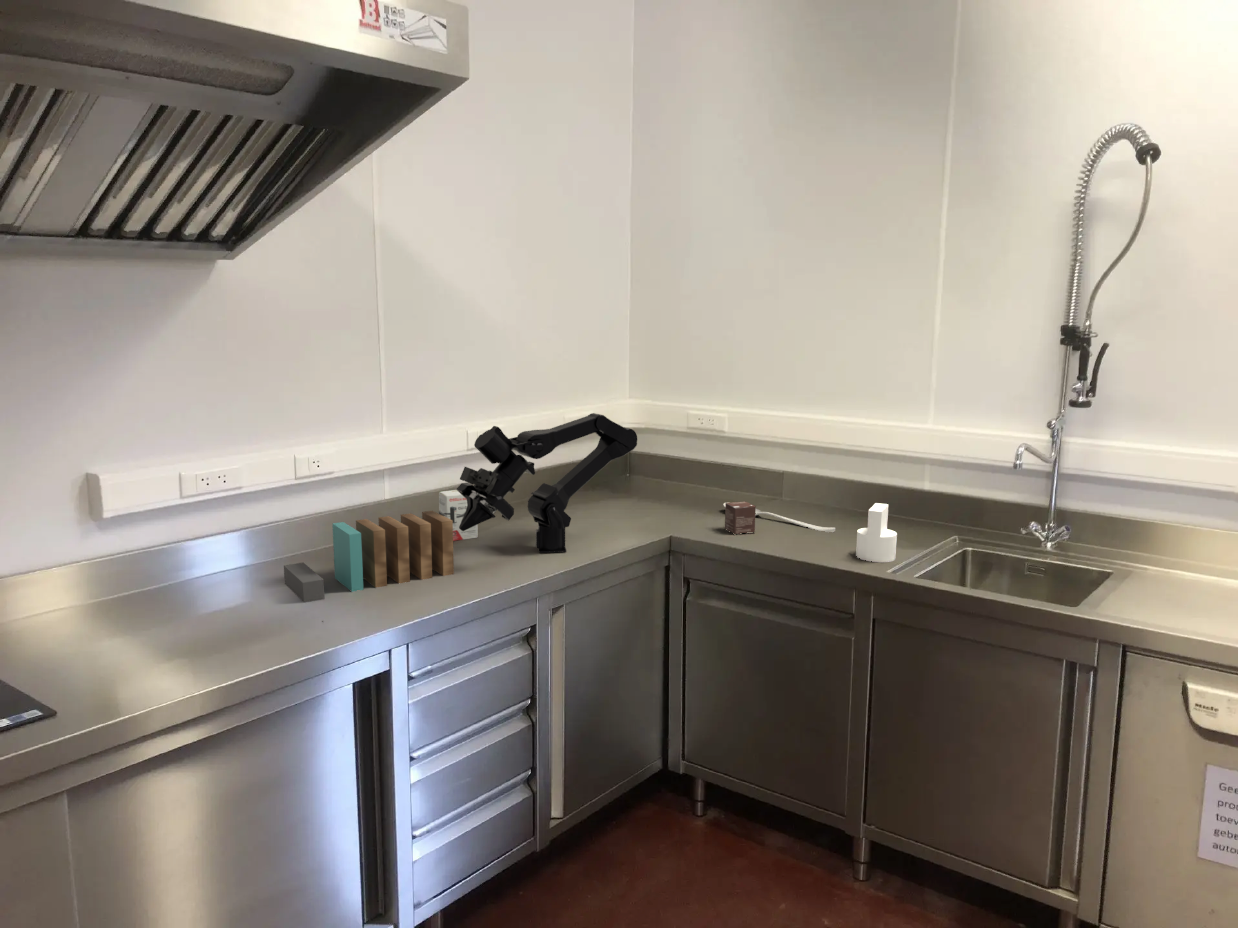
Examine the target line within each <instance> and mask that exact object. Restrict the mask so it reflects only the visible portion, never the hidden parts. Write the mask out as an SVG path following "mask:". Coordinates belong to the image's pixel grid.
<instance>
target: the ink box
mask: <svg viewBox="0 0 1238 928" xmlns="http://www.w3.org/2000/svg"><path fill="white" fill-rule="evenodd" d="M466 509H467V499H466V498H465V497H464V496H463V495H461V494H460V493H459V492H458V491H457V489H453V490H451V489H450V490H444V491H440V492H438V514H440V515H442V516H444V517H446V518H448V519H451V520H453V542H455V541H462V540H464V541H465V540H469V539H476V538H478V533H479V532H478V531H479V529H478V525H479V524H477V525H475V526H473V527H471V528H469V529H467V530H465V531H462V530H460V529H459V526H460V524H461V521H462V519H463V517H464V514H465V512H466Z"/></svg>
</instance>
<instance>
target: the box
mask: <svg viewBox="0 0 1238 928" xmlns="http://www.w3.org/2000/svg"><path fill="white" fill-rule="evenodd" d="M725 503H726V506H725V507H724V508H725V509H724V510H725V513H724V530H725V529H727V530H728V531H730V532H732V533H734V534H739V535H741V534H740V533H747V532H756V516H755V512H756V509H757V507H756V505H754V504H751V503H750V502H748V501H734V502H732V501H731V502H730V503H727V502H725ZM728 531H727V532H728ZM730 532H729V533H730ZM732 533H731V534H732Z"/></svg>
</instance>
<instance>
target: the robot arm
mask: <svg viewBox="0 0 1238 928" xmlns="http://www.w3.org/2000/svg"><path fill="white" fill-rule="evenodd" d="M592 434H596V435H597V436H598V437H599V441H598V442H597V446H596V447H595V448H594V449H593V450H592V451H591V452H590V453H589V454H588V455H587V456H585V457H583V459H582V460H580V462H578V463H577V464H576V465H575V466H574V467H573V468H572V469H571V470H569V472H568V473H566V474H565V475H563V477H562V478H560V479H559V480H558V481H557V482H556V483H555V484H554V483H553V484H552V485H551V484H549V483H548V484H547V483H545V482H544V483H542V484H540V485H539V487H538V488H537V489H536V490H535V491H533V492H531V493H530V494H531V496H530V497H529V498H528V500H527V511H528V514H530V515H531V516H532V518H533V521H534V523H537V529H536V530H535V548H536V549H537V550H538V553H539V554H544V553H545V554H547V553H549V554H550V553H567V547H566V528H569V527H570V524H571V521H572V518H571V516H570V515H568V513H566V512H565V510H566V509H567V506H568V504H569V501H570V499H571V497H572V496H573V495H575V494H576V493H577V492H578V491H579V490H580V489H582V488H583V487H584V486H585V485H586V484H587V483H588V482H589V481H591V479H592V478H594V477H595V475H597V474H598V473H599V472H600V471H602V469H603V468H605V467H607V465H608V464H609V463H610V462H612V461H614V460H616V459H620V458H622V457H624V456H626V455H627V454H630V453H631V452H632V451H633V450H635V448H636V447H637V446H638V435H637V432H636V431H635V430H634V429H632V428H629V427H625V426H623V425H620V424H619V423H617V422H615V421H612V420H611V419H610V418H608V417H607V416H606V415H604V414H599V413H595V412H593V413H589V414H588V415H585V416H583V417H580V418H577V419H574V420H571V421H569V422H565V423H562V424H560V425H557V426H554V427H551V428H546V429H532V430H524V431H522V432H519V433H518V435H517V436H514V437H511V438H508V436H507V435H506V434H504V432H503V431H502V429H501V428H500V427H499V426H496V425H493V426H492V427H491V428H490V429H487V430H485V431H484V432H483V433H482V434H479V435H478V436H477V438H475V439H476V440H475V441H474V445H473V446H474V448H476V450H477V451H478V452H479V453H480V454H481V455H483V456H484V458H485V459H486V460H487V461H489V463H490V464H493V465H495V464H498V465H497V466H496V467H495V469H493V471H492V470H488V469H485V468H482V467H480V468H479V469H478V470H475V469H473V468H470V467H467V466H463V467H464V468H463V470H462V471H461V472H462V473H461V475H460V477H459V480H460V481H462V482H461V483H460V484H459V485H458V487H457V488H456V490H457V491H458V492H459V493H460V494H461V495H463V496H464V497H465V498H466V499H467V509H466V512H465V514H464V517H463V519H462V521H461V524H460V526H459V529H460V530H462V531H465V530H467V529H469V528H471V527H473V526H475V525H477V524H478V525H479V524H481V523H484V522H485V521H488V520H490V519H495V518H496V516H497V515H495V513H497V511H498V512H499V514H501V518H502V519H504V520H506V521H510V520H511V519H512V517H513V516H514V514H515V508H514V507H513V506H512V505H511V504H510V503H509V502H508V501H507V500H506V499H505V497H506V496H507V494H508V493H511V494H513V493H514V492H515V488H514V486H515V485H516V483H517V482H518V481H519V480H520V479H521V477H522V476H523V475H524V474H525V473H526V474H528V475H529V474H530V475H533V476H534V475H535V474H536V469H535V462H533V461H528V460H527V459H526V458H525V457H527V458H530V459H534V460H539V459H542V458H544V457H545V456H547V455H549V454H551V453H552V452H553V451H554V450H555V449H556V448H557V447H559V446H561V445H564V444H566V443H570V442H572V441H575V440H578V439H581V438H583V437H586V436H588V435H592ZM514 451H515V452H517V453H518V454H516V453H515V452H514Z"/></svg>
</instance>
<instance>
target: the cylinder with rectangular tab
mask: <svg viewBox="0 0 1238 928" xmlns="http://www.w3.org/2000/svg"><path fill="white" fill-rule="evenodd" d="M888 516H889V503H888V504H887V503H879V502H875V503H874V504H873V505H872V506H871V507H870V508H869V509H868V515H867V527H862V528H859V529H857V533H856V545H855V548H856V549H855V550H856V551H855V557H856V556H857V557H856V558H857V559H859V558H860V560H862V561H865V560H866V562H871V561H872V562H871V563H888V562H889V563H890V562H893V561H895V560H896V556H897V555H896V553H897V539H898V538H897V537H898V533H897V532H896V531H894V530H892V529H888V518H889V517H888Z"/></svg>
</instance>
